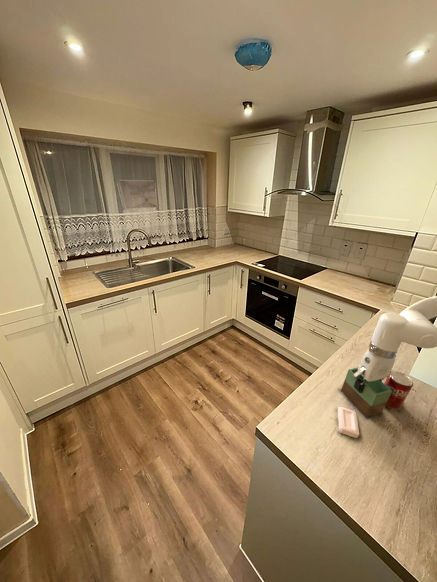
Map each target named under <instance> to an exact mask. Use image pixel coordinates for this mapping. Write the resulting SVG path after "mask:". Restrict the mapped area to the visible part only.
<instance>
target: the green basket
mask: <svg viewBox="0 0 437 582" xmlns="http://www.w3.org/2000/svg"><path fill="white" fill-rule="evenodd" d="M358 368H359V366H357V367H353V368H349V369H348V370H347V373H346V375H345V379H344V381H346V382H347V383H348V384H349V385H350V386H351V387H352V388H353V389H354V390H355V391H356V392H357V393H358V394H359V395H360V396H361V397H362V398H363V399H364V400H365V401H366V402H367V403H368V404H369V405H370V406H371V407H372V406H375V405H379V404H382V403H385V402H387V401H388V399H389V397H390V395H391V393H392V390H391V389H390V388H388V387H387V386H386V385H385V384H384V383H385V382H383V381H382V382H381V381H380V380H375V381H366V382H365V384H364V385H365V387H364V389H363V391H362V393H359V392H358V391H357V390H356V389H355V388H354V384H355V381H356V379H355V378H354V377H353V374H354V373H356V372H357V371H358ZM363 374H364V373H363ZM360 379H361V380H362V381H363V379H364V377H363V376H361V377H360Z"/></svg>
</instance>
